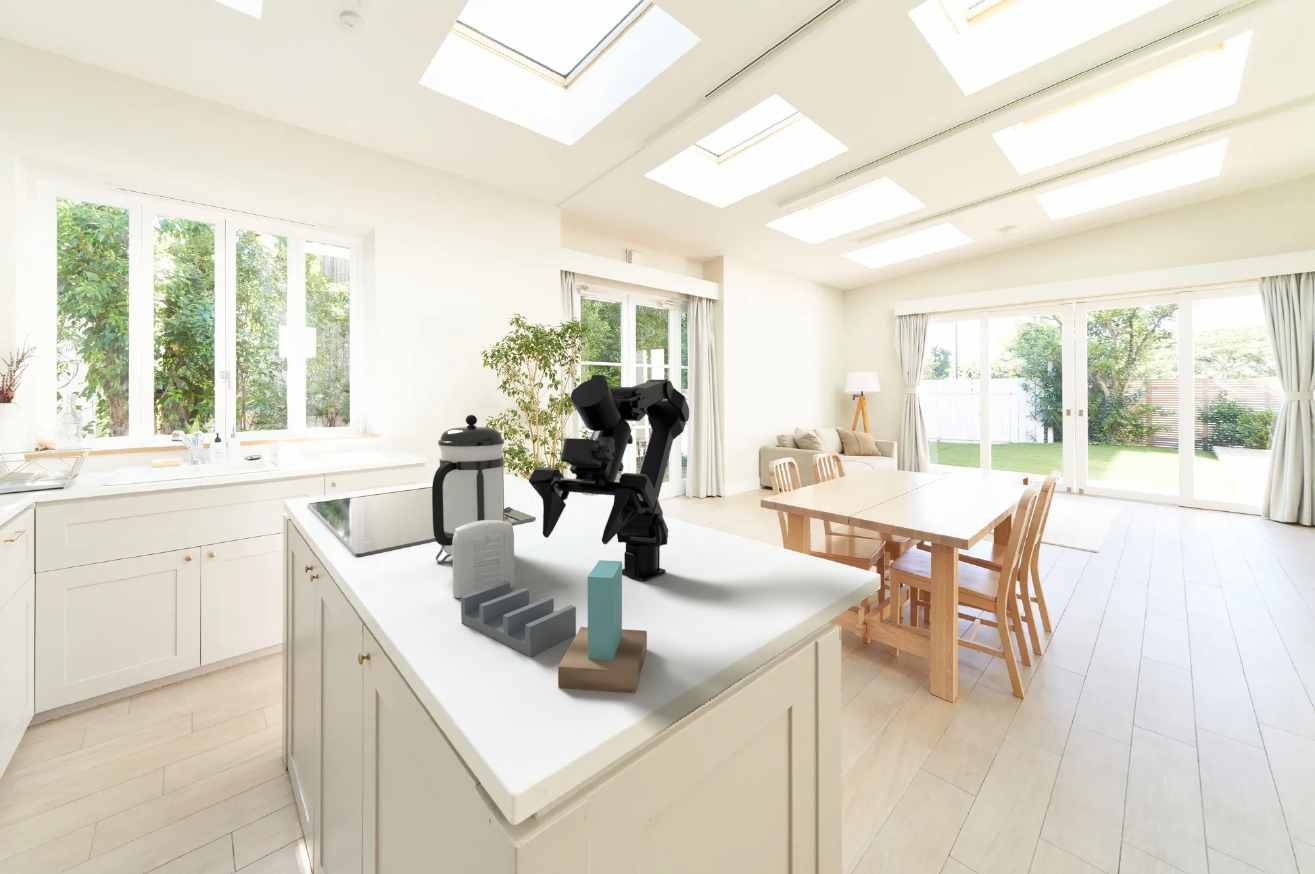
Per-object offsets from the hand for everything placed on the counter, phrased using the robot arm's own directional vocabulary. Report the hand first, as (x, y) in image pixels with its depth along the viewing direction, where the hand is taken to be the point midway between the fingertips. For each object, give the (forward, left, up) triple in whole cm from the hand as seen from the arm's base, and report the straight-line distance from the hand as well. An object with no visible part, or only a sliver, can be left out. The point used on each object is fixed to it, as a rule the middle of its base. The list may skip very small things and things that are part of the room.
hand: (573, 539), depth 68 cm
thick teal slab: (+2, +9, -11) cm, 15 cm away
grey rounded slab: (0, -24, -14) cm, 28 cm away
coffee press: (-7, -42, -14) cm, 45 cm away
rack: (+4, -8, -14) cm, 16 cm away
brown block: (+2, +9, -14) cm, 17 cm away
